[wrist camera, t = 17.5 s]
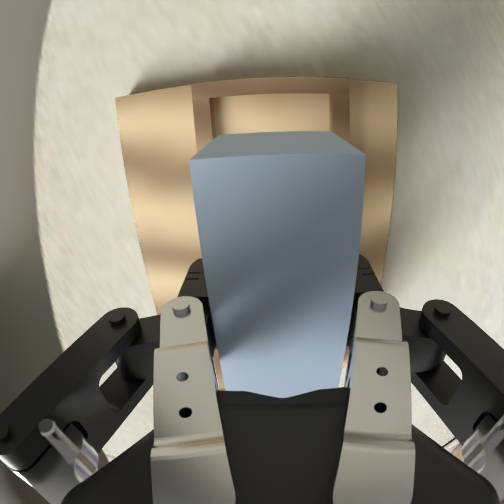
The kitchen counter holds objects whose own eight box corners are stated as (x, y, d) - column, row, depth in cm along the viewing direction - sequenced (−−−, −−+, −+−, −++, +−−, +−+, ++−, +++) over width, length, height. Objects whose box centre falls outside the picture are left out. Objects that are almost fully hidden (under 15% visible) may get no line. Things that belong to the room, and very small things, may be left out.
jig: (127, 96, 20) (92, 100, 15) (386, 83, 18) (416, 83, 14) (178, 353, 31) (166, 391, 26) (359, 351, 29) (369, 389, 25)
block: (318, 356, 16) (328, 429, 12) (241, 358, 16) (234, 431, 12) (330, 131, 11) (365, 154, 7) (218, 134, 11) (189, 159, 7)
